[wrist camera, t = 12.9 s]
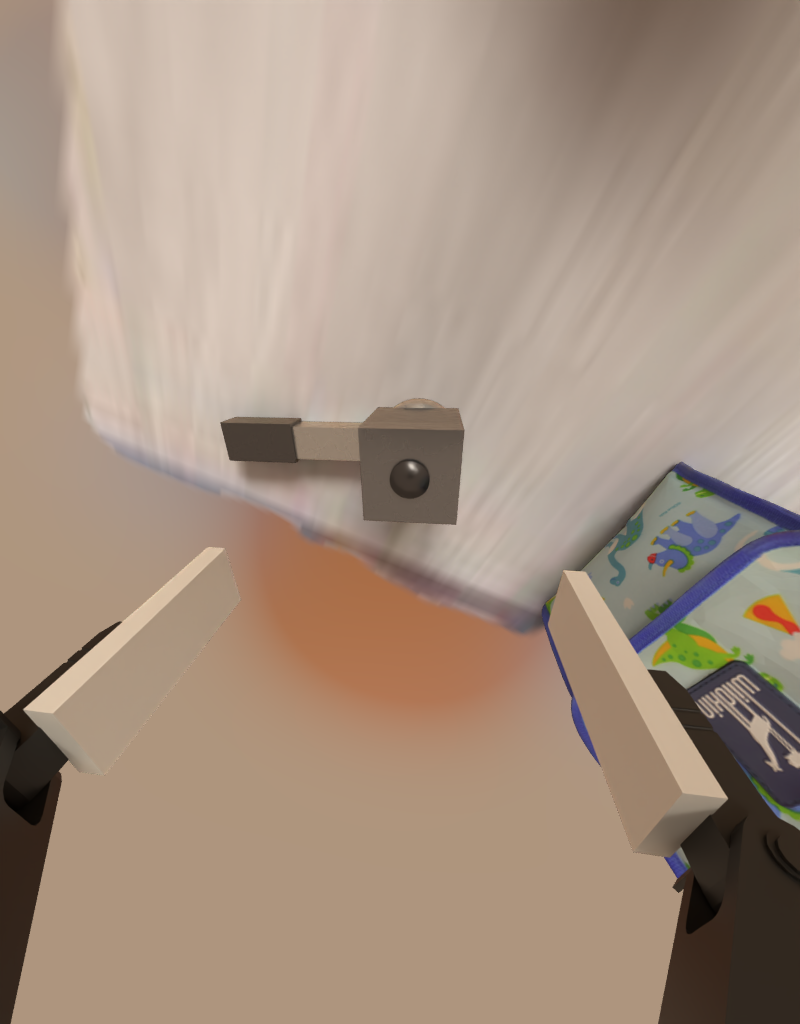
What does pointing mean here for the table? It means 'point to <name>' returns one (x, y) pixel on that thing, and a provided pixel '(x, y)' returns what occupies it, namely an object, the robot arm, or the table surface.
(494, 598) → the table surface
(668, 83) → the table surface
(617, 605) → the lunch bag
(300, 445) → the chrome ball-end bar
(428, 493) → the grey square block
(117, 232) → the table surface
